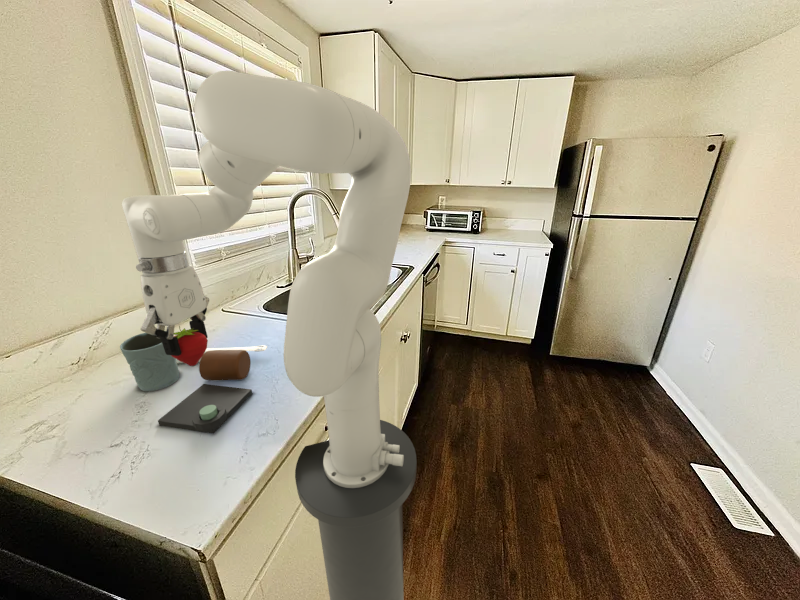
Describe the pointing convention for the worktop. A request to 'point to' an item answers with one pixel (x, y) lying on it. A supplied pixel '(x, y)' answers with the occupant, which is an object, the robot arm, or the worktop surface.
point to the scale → (205, 395)
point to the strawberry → (191, 346)
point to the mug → (224, 365)
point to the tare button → (208, 412)
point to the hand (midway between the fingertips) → (187, 345)
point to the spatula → (235, 349)
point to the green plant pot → (149, 362)
